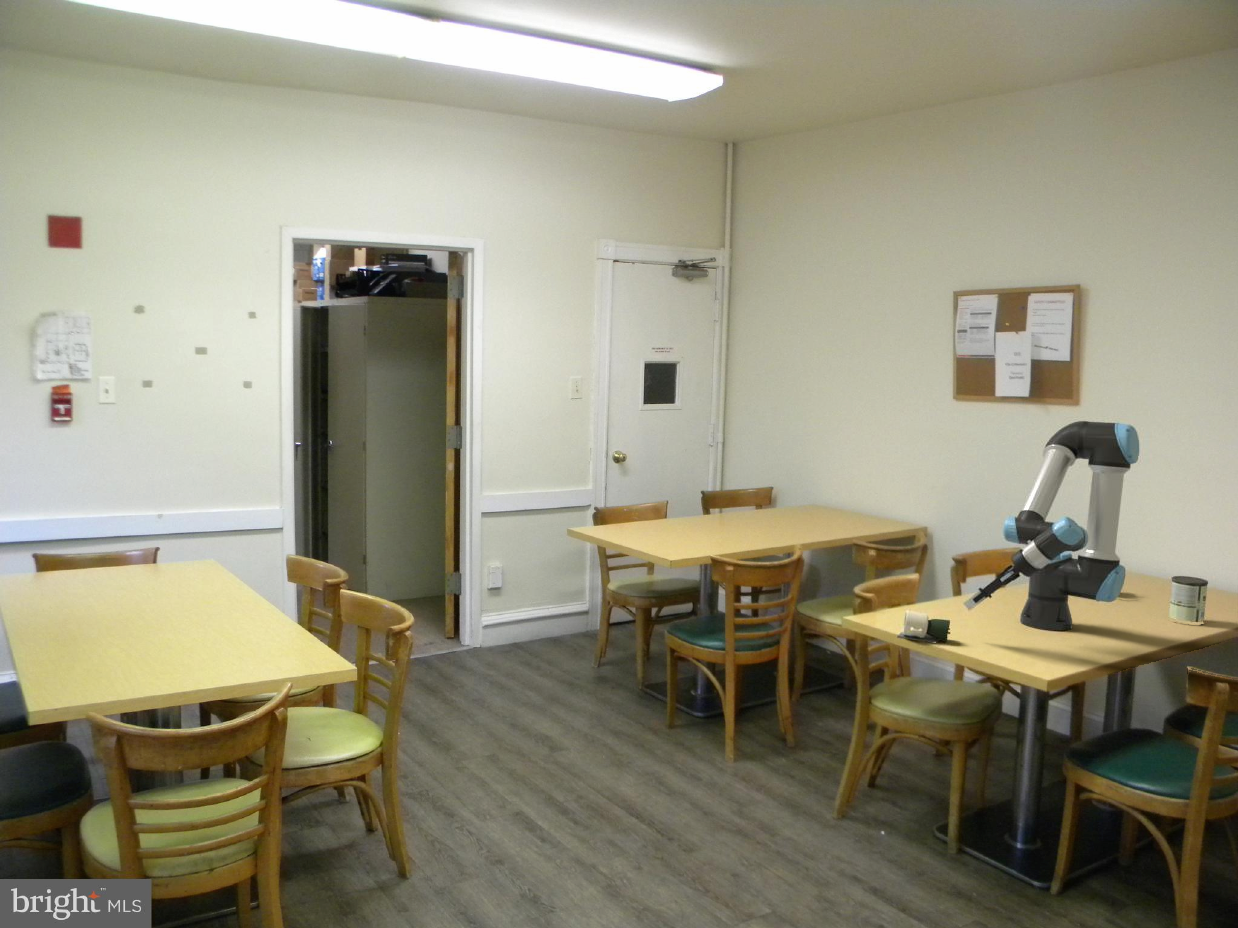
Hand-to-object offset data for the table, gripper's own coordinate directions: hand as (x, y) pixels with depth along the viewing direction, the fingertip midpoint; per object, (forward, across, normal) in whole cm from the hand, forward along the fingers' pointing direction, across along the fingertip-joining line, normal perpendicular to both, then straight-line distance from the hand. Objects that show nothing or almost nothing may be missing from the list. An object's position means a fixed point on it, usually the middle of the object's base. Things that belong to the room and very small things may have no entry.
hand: (966, 606), depth 295 cm
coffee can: (-27, -74, +42) cm, 90 cm away
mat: (+15, +2, -1) cm, 16 cm away
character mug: (+7, +5, +3) cm, 9 cm away
